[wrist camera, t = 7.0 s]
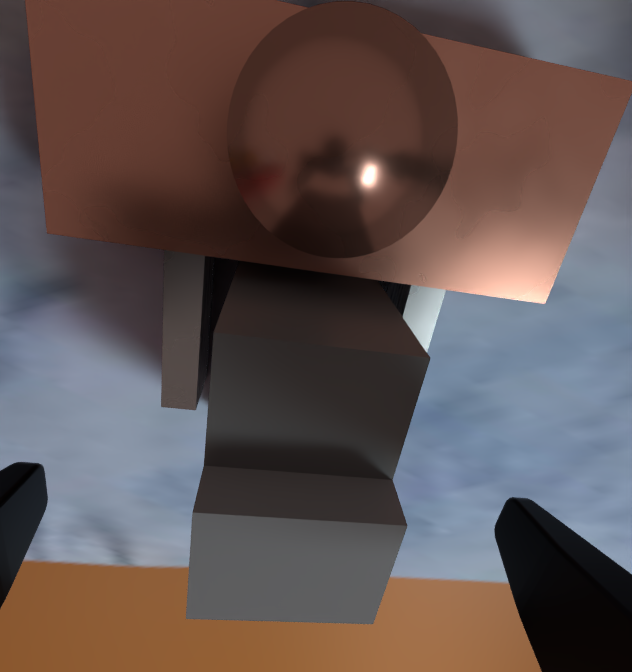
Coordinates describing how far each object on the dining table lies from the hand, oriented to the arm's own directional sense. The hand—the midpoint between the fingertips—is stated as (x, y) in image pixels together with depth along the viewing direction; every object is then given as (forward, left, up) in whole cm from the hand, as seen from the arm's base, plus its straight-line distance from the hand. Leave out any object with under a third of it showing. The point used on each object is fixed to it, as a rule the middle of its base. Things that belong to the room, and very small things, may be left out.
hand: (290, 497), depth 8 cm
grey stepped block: (0, 0, -7) cm, 7 cm away
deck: (0, -3, -7) cm, 7 cm away
